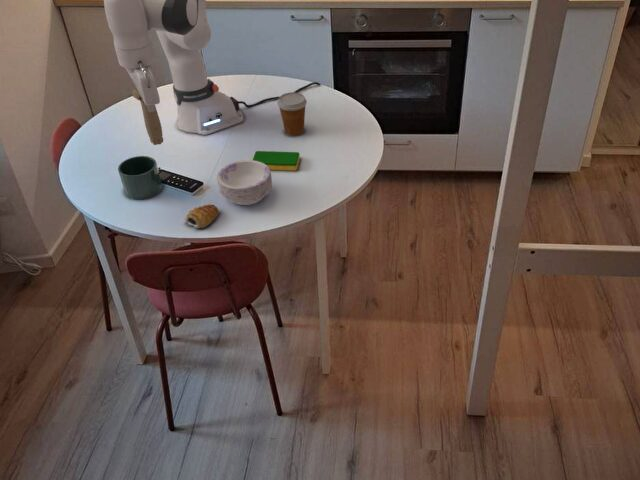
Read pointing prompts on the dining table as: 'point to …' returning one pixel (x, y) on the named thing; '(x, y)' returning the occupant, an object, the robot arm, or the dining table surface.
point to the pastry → (202, 216)
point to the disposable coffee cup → (292, 112)
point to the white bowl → (244, 181)
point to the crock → (140, 177)
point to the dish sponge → (278, 159)
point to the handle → (150, 121)
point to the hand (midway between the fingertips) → (148, 106)
